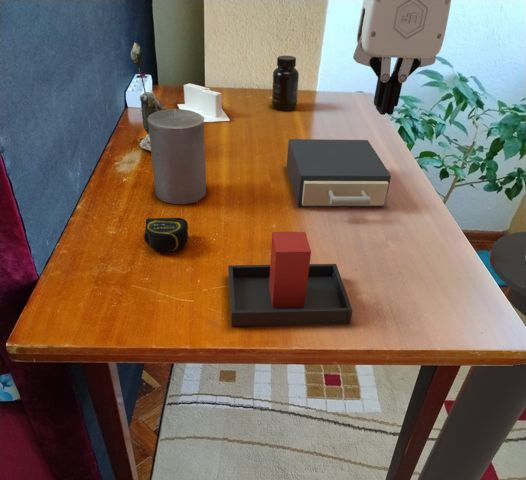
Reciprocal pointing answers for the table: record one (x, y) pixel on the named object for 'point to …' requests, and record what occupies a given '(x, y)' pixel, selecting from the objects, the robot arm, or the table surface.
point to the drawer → (344, 192)
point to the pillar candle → (178, 155)
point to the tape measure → (166, 233)
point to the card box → (289, 269)
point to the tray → (262, 314)
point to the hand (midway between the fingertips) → (383, 111)
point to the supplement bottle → (285, 84)
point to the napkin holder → (203, 103)
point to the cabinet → (332, 163)
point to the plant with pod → (145, 99)
